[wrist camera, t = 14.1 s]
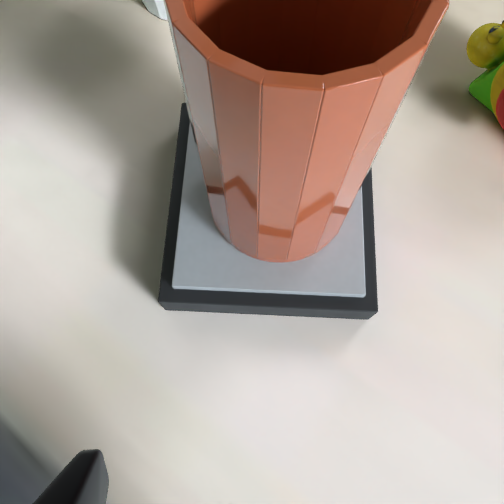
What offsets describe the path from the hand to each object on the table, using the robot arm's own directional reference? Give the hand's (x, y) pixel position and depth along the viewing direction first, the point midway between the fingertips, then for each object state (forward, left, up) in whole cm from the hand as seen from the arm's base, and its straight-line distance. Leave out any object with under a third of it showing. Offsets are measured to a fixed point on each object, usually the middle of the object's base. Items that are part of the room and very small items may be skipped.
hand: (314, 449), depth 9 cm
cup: (+11, +1, -11) cm, 16 cm away
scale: (+12, +1, -14) cm, 18 cm away
